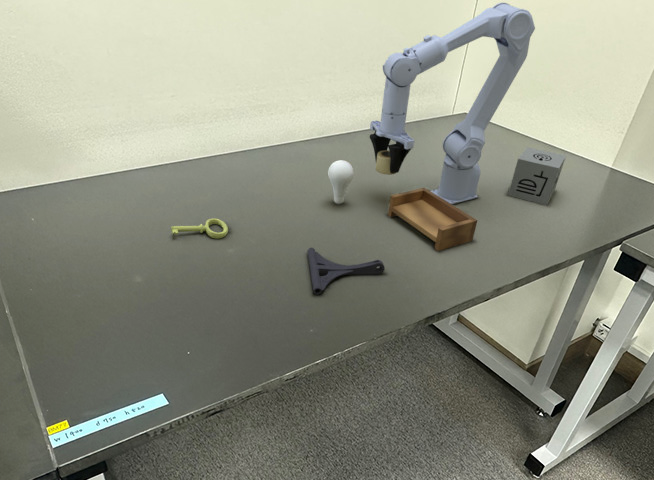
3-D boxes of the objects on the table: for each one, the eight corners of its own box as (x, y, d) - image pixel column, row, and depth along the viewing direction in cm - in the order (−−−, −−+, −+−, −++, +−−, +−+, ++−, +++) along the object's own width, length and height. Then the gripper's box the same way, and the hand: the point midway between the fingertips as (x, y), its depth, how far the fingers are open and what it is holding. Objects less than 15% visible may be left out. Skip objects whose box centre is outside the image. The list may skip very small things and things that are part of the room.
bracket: (390, 293, 102) (392, 281, 100) (313, 295, 100) (313, 282, 99) (376, 254, 113) (378, 242, 112) (307, 254, 112) (307, 243, 110)
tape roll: (388, 164, 133) (391, 148, 130) (402, 172, 129) (404, 156, 127) (371, 168, 130) (373, 151, 128) (384, 176, 127) (386, 159, 124)
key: (168, 235, 116) (167, 226, 114) (219, 221, 122) (219, 212, 120) (182, 249, 111) (181, 241, 110) (235, 234, 117) (234, 226, 116)
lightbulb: (348, 210, 129) (352, 167, 122) (324, 207, 130) (326, 164, 123) (352, 199, 133) (356, 157, 127) (328, 196, 134) (331, 154, 128)
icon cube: (546, 205, 136) (559, 168, 130) (507, 195, 140) (518, 158, 134) (554, 191, 143) (566, 155, 137) (516, 182, 147) (526, 147, 141)
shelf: (420, 206, 132) (424, 187, 129) (472, 240, 120) (477, 220, 117) (387, 215, 128) (390, 195, 125) (437, 251, 115) (442, 230, 112)
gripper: (362, 104, 124) (356, 159, 133) (399, 123, 115) (391, 182, 123) (386, 100, 127) (379, 155, 136) (425, 119, 118) (415, 176, 126)
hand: (387, 167), depth 129 cm, fingers closed on tape roll, 5 cm apart
